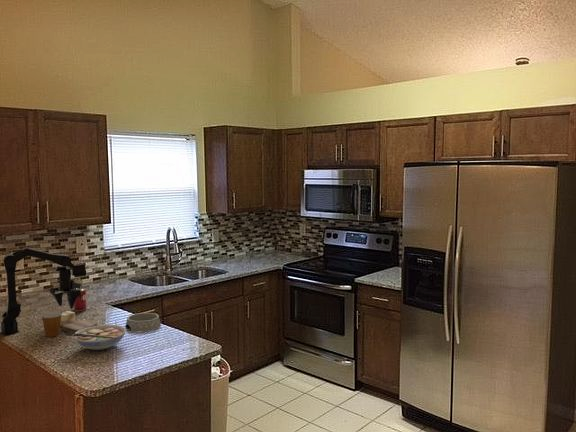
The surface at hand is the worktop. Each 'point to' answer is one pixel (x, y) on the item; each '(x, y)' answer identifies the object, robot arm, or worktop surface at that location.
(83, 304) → the soda can
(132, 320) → the dog bowl
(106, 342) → the ramen bowl
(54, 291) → the robot arm
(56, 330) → the disposable coffee cup
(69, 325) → the walnut board
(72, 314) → the maple cube
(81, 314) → the worktop surface
